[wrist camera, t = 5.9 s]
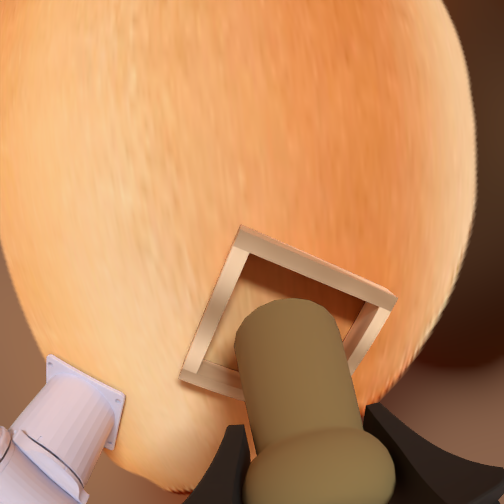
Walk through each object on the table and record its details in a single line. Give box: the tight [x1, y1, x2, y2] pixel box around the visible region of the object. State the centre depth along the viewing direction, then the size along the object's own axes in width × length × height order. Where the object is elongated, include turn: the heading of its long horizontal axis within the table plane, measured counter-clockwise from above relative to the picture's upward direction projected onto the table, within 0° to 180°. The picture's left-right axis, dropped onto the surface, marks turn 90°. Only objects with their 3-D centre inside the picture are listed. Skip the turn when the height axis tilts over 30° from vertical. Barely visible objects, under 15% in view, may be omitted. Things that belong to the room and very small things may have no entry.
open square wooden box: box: [178, 225, 398, 402], centre depth 19 cm, size 11×11×2 cm
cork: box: [234, 298, 396, 504], centre depth 11 cm, size 6×6×11 cm
